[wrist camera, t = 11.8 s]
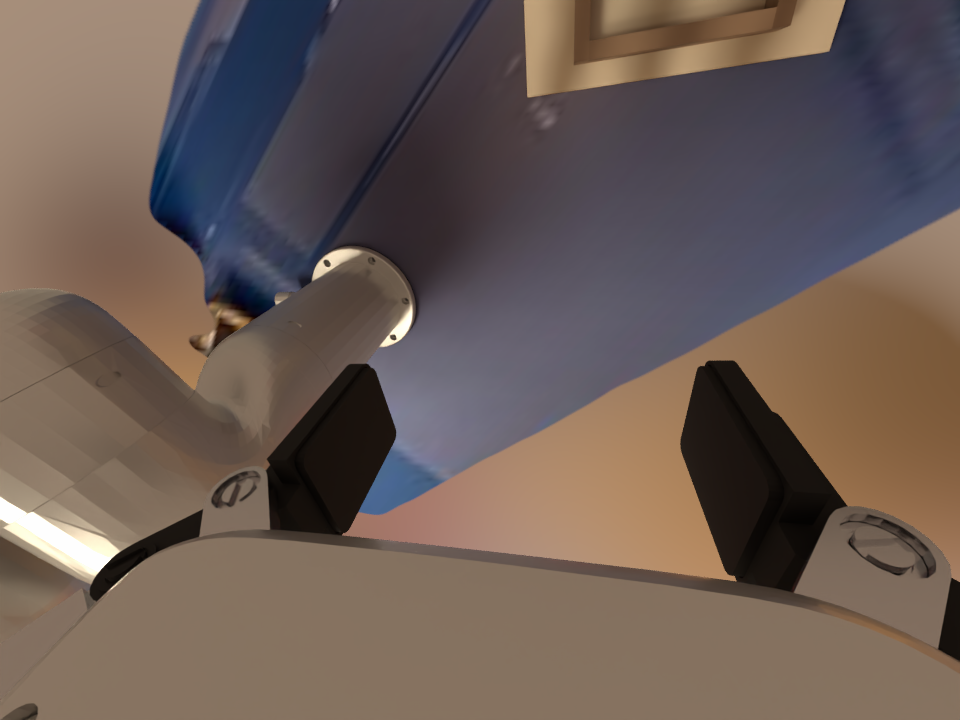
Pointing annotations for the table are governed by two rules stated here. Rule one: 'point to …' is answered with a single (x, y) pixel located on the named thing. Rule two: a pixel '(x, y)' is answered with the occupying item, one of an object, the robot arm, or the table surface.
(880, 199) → the table surface
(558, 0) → the holder board
